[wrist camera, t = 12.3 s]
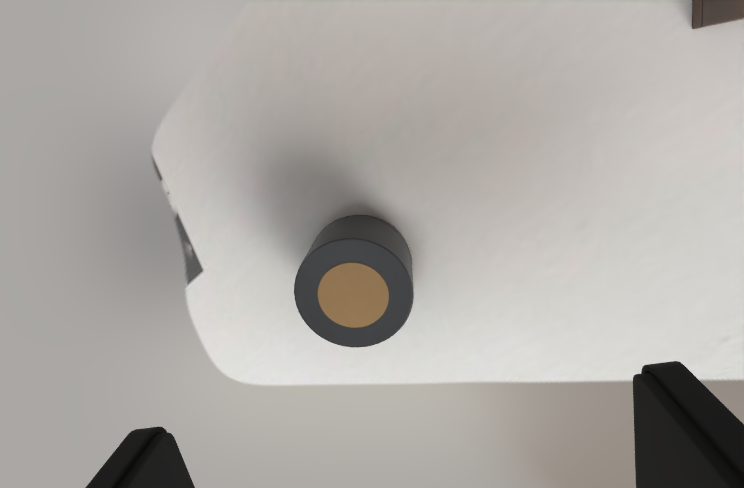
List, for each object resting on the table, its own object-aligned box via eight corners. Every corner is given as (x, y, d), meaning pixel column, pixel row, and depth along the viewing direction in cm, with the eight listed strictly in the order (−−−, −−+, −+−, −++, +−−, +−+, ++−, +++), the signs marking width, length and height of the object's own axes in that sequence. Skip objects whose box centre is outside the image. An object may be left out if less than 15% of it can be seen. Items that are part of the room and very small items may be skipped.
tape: (295, 285, 29) (276, 320, 25) (333, 197, 27) (320, 218, 23) (385, 324, 30) (382, 365, 26) (429, 241, 28) (434, 270, 23)
